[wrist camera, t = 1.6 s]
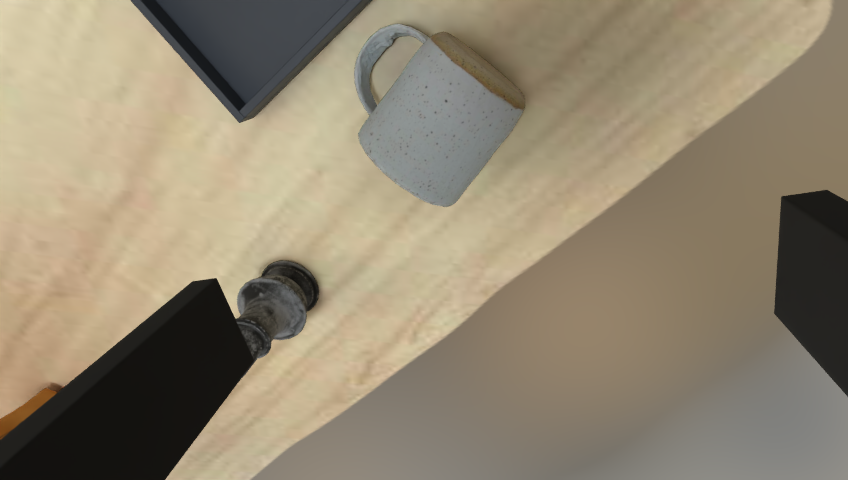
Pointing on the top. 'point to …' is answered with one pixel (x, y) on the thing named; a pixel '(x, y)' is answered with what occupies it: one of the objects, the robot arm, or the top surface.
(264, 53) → the tray
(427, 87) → the ceramic mug
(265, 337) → the dark chess piece
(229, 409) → the top surface
